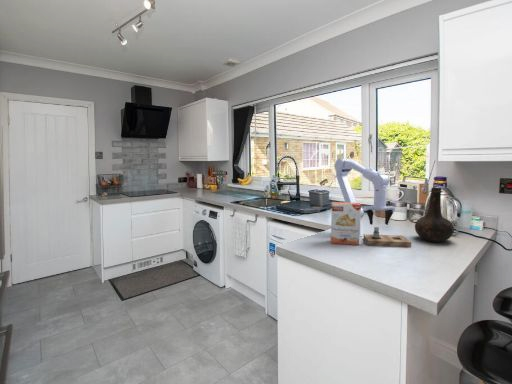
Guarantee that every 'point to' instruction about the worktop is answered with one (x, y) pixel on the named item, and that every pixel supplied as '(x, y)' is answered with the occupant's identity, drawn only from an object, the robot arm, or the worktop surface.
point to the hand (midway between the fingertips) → (378, 224)
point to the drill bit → (376, 233)
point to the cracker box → (345, 223)
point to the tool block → (387, 240)
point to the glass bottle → (434, 221)
